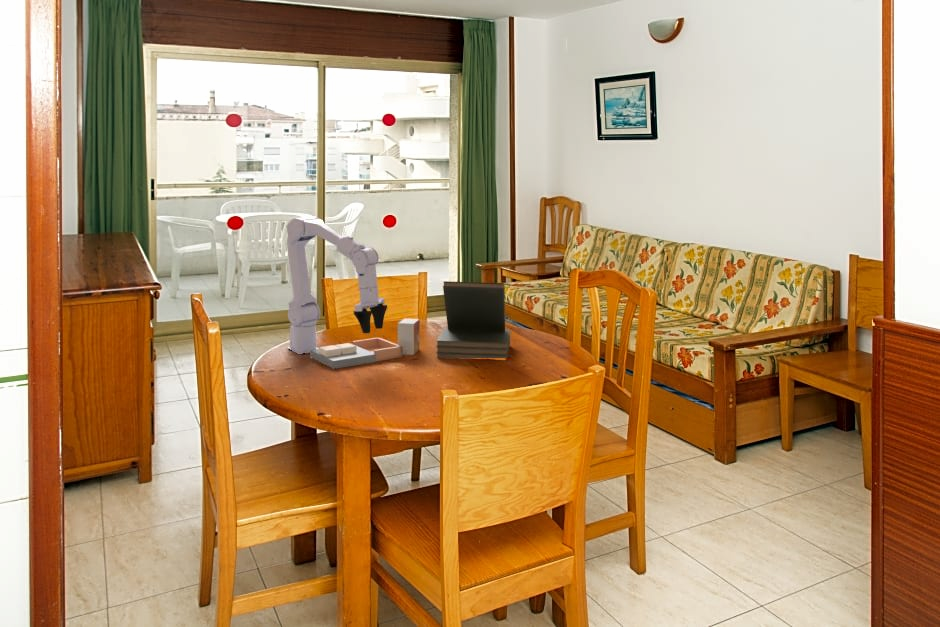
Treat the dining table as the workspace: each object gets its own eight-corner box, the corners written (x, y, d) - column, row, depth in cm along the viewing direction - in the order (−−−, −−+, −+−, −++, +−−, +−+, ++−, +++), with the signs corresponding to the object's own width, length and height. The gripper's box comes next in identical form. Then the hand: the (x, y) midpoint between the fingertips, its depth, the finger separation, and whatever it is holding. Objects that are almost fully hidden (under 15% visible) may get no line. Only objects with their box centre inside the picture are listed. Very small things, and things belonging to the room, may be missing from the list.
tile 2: (335, 351, 253) (334, 344, 253) (349, 348, 256) (348, 342, 256) (342, 354, 249) (342, 348, 249) (356, 352, 252) (356, 346, 252)
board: (310, 357, 254) (310, 350, 254) (351, 351, 263) (351, 343, 263) (333, 368, 242) (333, 361, 241) (376, 361, 251) (376, 354, 250)
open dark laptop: (510, 347, 273) (512, 275, 268) (507, 362, 254) (509, 285, 249) (444, 344, 276) (444, 273, 270) (436, 359, 256) (436, 282, 251)
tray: (352, 351, 263) (352, 341, 262) (378, 347, 269) (378, 337, 268) (375, 361, 251) (375, 350, 250) (402, 356, 257) (402, 346, 256)
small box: (413, 355, 259) (413, 323, 257) (397, 354, 260) (397, 322, 258) (419, 349, 267) (420, 318, 265) (403, 348, 268) (403, 318, 266)
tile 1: (319, 353, 250) (319, 347, 250) (333, 351, 253) (333, 345, 252) (326, 356, 246) (326, 350, 246) (341, 354, 249) (340, 348, 249)
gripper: (367, 290, 237) (372, 335, 239) (391, 283, 250) (395, 326, 252) (347, 291, 240) (352, 335, 242) (371, 284, 253) (376, 326, 255)
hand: (372, 330), depth 247 cm, fingers open, 7 cm apart
